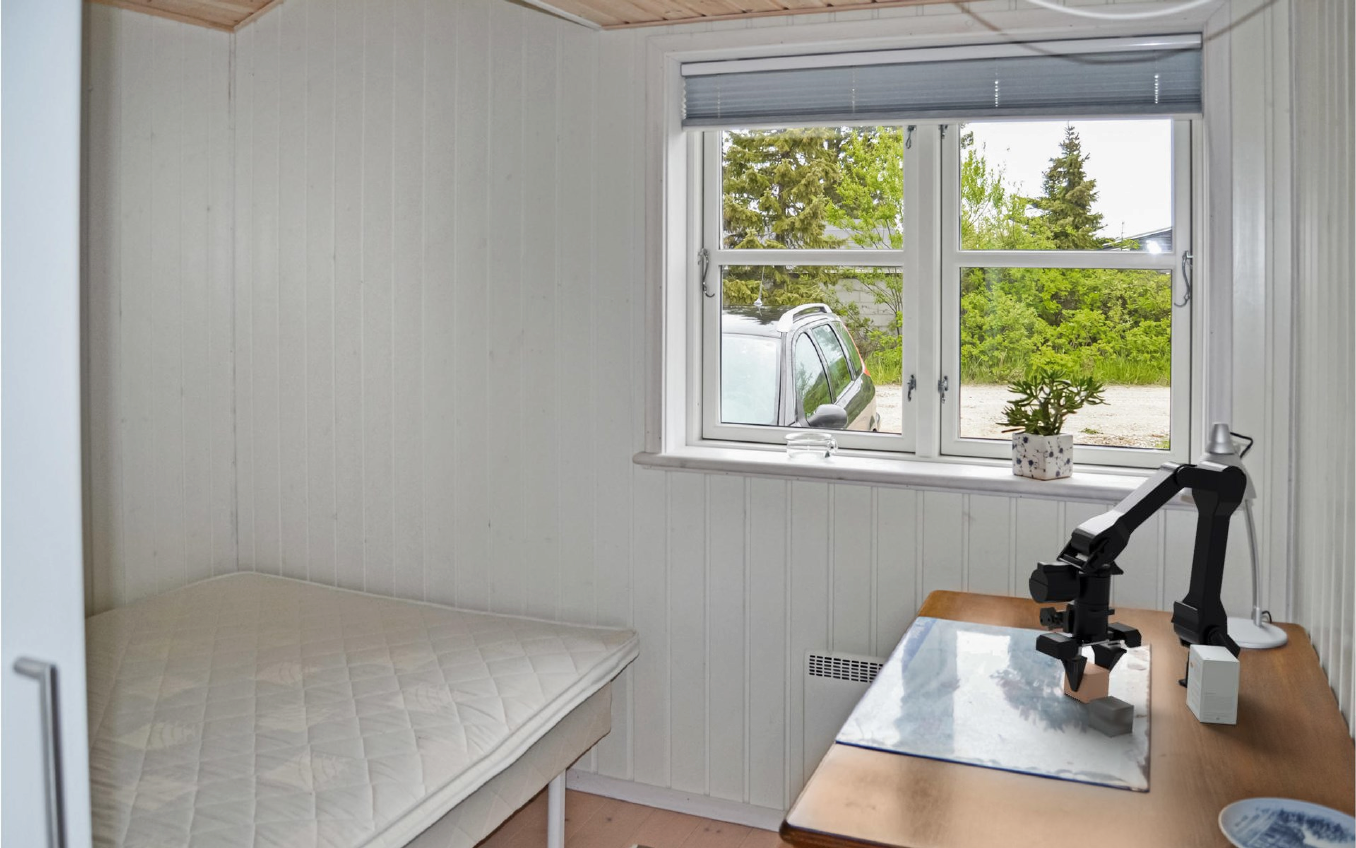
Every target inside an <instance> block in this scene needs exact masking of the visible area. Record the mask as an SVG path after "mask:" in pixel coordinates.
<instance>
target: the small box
mask: <svg viewBox="0 0 1356 848" xmlns="http://www.w3.org/2000/svg"><path fill="white" fill-rule="evenodd" d="M1189 652H1190V655H1189V671H1188V686H1186V687H1187V691H1186V703H1185V704H1186V705H1187V707H1188V708H1189V709H1190V711H1191V712H1192V713H1193V715H1194V716H1195V717H1196V719H1197V720H1198V721H1199V722H1200V723H1209V724H1212V723H1213V724H1224V725H1237V715H1238V701H1239V688H1240V687H1239V686H1240V671H1241V661H1240V660H1239V659H1238V658H1237V659H1236V658H1235V657H1234V656H1233V655H1232V654H1231V653H1230V652H1229V650H1228V649H1227V648H1226V647H1220V646H1205V645H1190V649H1189Z"/></svg>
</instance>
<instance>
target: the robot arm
mask: <svg viewBox="0 0 1356 848" xmlns="http://www.w3.org/2000/svg"><path fill="white" fill-rule="evenodd" d="M1247 483H1248V478H1247V474H1246V473H1244V471H1243V469H1242V468H1241V467H1238V466H1236V465H1232V464H1226V463H1223V462H1218V461H1214V460H1209V459H1207V460H1203V461H1202V462H1200V463H1199V464H1194V463H1185V462H1181V463H1180V462H1179V463H1178V462H1174V461H1166V462H1163V463H1161V465H1160V466H1159V467H1158V469H1157V471H1155V472H1154V473H1153V474H1152V475H1151V476H1149V477H1148V478H1147V479H1146V480H1145V481H1144V482H1142V484H1140V485H1139V486H1138V487H1137V488H1136V489H1134V490H1133V491H1132V492H1131V493H1130V494H1129V495H1127V496H1126V497H1125V498H1124V499H1123V500H1121V501H1120V502H1119V503H1118V504H1117V505H1116V506H1114V507H1113V508H1112V509H1110V510H1109V511H1107V512H1105V513H1103V514H1099V515H1096V516H1093V517H1091V518H1089V519H1087V520H1086V521H1084V522H1083V523H1081V524H1079V525H1078V526H1077V527H1075V528H1074V530H1073V531H1072V532H1071V535H1070V539H1069V540H1068V542H1067V543H1066V544H1065V546H1064V547H1063V548H1062V550H1061V552H1060V553H1059V554H1058V556H1057V557H1056V559H1055V560H1056V562H1055V561H1054V562H1047V561H1038V562H1037V563H1036V569H1034V570H1033V571H1032V573H1031V575H1030V577H1029V578H1028V588H1029V589H1028V590H1029V593H1030V596H1031V598H1032V600H1033V601H1034V602H1035V603H1037V604H1056V603H1057V604H1059V603H1067V604H1066V608H1065V609H1062V610H1056V608H1055V607H1054V606H1045V607H1040V608H1039V609H1040V610H1039V615H1038V616H1039V617H1038V618H1039V624H1040V625H1041V626H1042V627H1047V630H1048V631H1051V632H1048V633H1047V632H1046V633H1041V634H1039V635H1038V636H1037V637H1036V639H1035V651H1038V652H1040V653H1041V654H1044V655H1046V656H1049V657H1051V658H1054V659H1056V660H1060V661H1061V663H1062V665H1063V666H1062V667H1063V668H1064V673H1065V672H1066V675H1067V678H1068V681H1069V685H1070V688H1071V690H1072V691H1074V692H1078V689H1079V687H1080V684H1081V680H1082V677H1083V673H1084V670H1085V666H1086V663H1087V661H1088V659H1089V658H1088V657H1087V656H1084V655H1083V653H1082V652H1083V648H1086V647H1091V648H1090V649H1092V651H1093V656H1094V657H1093V658H1094V659H1093V660H1094V661H1093V662H1094V663H1093V664H1095V665H1097V666H1100V667H1102V668H1105V669H1107V670H1110V673H1111V672H1112V670H1113V669H1114V668H1115V666H1116V665H1117V664H1118V662H1119V661H1120V659H1122V657H1123V656H1124V655H1125V654H1127V653H1128V650H1127V649H1126V648H1125V647H1122V643H1121V641H1123V642H1124V643H1123V644H1124V645H1125V646H1126V647H1127V648H1129V649H1134V648H1139V647H1142V637H1143V636H1142V634H1141V633H1140V630H1139V629H1138V628H1135V627H1133V626H1130V625H1127V624H1124V623H1122V622H1118V621H1115V622H1110V623H1109V619H1110V616H1115V614H1116V608H1114V607H1111V606H1110V603H1111V588H1112V587H1111V586H1112V576H1121V575H1123V574H1124V573H1125V572H1124V570H1123V569H1122V568H1121V567H1120V566H1119V565H1117V563H1116V559H1117V558H1118V557H1120V555H1121V554H1122V552H1123V551H1124V550H1125V548H1127V546H1128V544H1129V541H1130V538H1131V535H1133V533H1134V532H1135V531H1136V529H1138V528H1139V527H1140V526H1141V525H1142V524H1144V523H1145V522H1146V521H1147V520H1148V519H1149V518H1151V516H1153V515H1155V513H1157V512H1158V511H1159V510H1160V509H1161V508H1162V507H1163V506H1164V505H1166V504H1167V503H1168V502H1169V501H1170V500H1172V499H1173V498H1174V497H1175V496H1176V495H1178V494H1179V493H1180V492H1181V491H1182V490H1183V489H1186V488H1187V489H1191V497H1192V498H1193V502H1194V504H1195V506H1196V509H1197V512H1198V513H1197V522H1196V531H1195V538H1194V546H1193V547H1194V548H1193V555H1192V563H1191V571H1190V580H1189V588H1188V592H1187V594H1186V595H1185V596H1184V598H1183V599H1182V600H1181V601H1179V600H1174V602H1173V606H1172V607H1173V613H1172V618H1171V619H1170V623H1172V624H1173V632H1174V633H1175V634H1176V636H1178V639H1179V644H1180V646H1182V647H1185V648H1187V649H1188V650H1190V645H1205V646H1220V647H1226V648H1227V649H1228V650H1229V652H1230V653H1231V654H1232V655H1233V656H1234V657H1235V658H1236V659H1237V660H1238V658H1239V655H1240V653H1241V650H1242V649H1241V647H1240V646H1239V645H1238V643H1237V642H1235V640H1234V639H1233V638H1232V636H1230V634H1229V633H1228V632H1229V629H1228V626H1229V625H1228V614H1227V612H1226V610H1225V607H1224V604H1223V601H1222V599H1221V595H1222V587H1223V579H1224V570H1225V565H1226V564H1225V563H1226V555H1227V554H1226V553H1227V547H1228V539H1229V532H1230V531H1229V530H1230V523H1231V517H1232V515H1233V514H1234V513H1235V511H1236V510H1238V508H1239V506H1240V505H1241V504H1242V502H1243V499H1244V495H1245V492H1246V489H1247V486H1248V485H1247ZM1078 556H1080V557H1082V558H1084V559H1086V561H1085V560H1084V559H1081V558H1079V557H1078ZM1061 629H1062V633H1065V634H1067V635H1068V634H1070V635H1071V636H1067V635H1065V634H1062V633H1059V632H1057V631H1054V630H1061ZM1052 631H1054V632H1052ZM1189 655H1190V651H1188V652H1187V661H1186V663H1185V664H1186V665H1185V676H1184V677H1185V678H1181V679H1178V684H1180V685H1183V686H1185V687H1188V671H1189Z"/></svg>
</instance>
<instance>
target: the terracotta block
mask: <svg viewBox="0 0 1356 848" xmlns="http://www.w3.org/2000/svg"><path fill="white" fill-rule="evenodd" d="M1110 674H1111V672H1110V670H1107V669H1105V668H1102V667H1100V666H1097V665H1095V664H1094V663H1092V662H1090V661H1088V660H1087V663H1086V666H1085V670H1084V673H1083V677H1082V680H1081V684H1080V687H1079V689H1078V692H1074V691H1072V690H1071V688H1070V685H1069V681H1068V678H1067V675H1066V672H1065V671H1064V684H1063V694H1064V693H1067V694H1068V695H1067V696H1069V695H1071V696H1072V697H1071V696H1070V697H1071V698H1073V697H1074V698H1073V699H1075V698H1076V699H1075V700H1077V699H1078V700H1077V701H1079V700H1080V702H1082V703H1083V704H1090V700H1092V699H1097V698H1102V697H1107V696H1109V689H1110V687H1109V686H1110Z"/></svg>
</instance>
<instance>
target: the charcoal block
mask: <svg viewBox="0 0 1356 848" xmlns="http://www.w3.org/2000/svg"><path fill="white" fill-rule="evenodd" d="M1134 709H1135V705H1133V704H1131V703H1129V702H1126V701H1125V700H1122V699H1119V698H1118V697H1115V696H1114V695H1108V696H1107V697H1102V698H1097V699H1092V700H1090V703H1089V719H1088V727H1089V728H1091V729H1093V730H1094V731H1097V732H1099V733H1102V734H1103V735H1105V736H1108V737H1109V738H1114V737H1119V736H1120V737H1121V736H1124V735H1128V734H1132V733H1133V728H1134V727H1133V726H1134Z"/></svg>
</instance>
